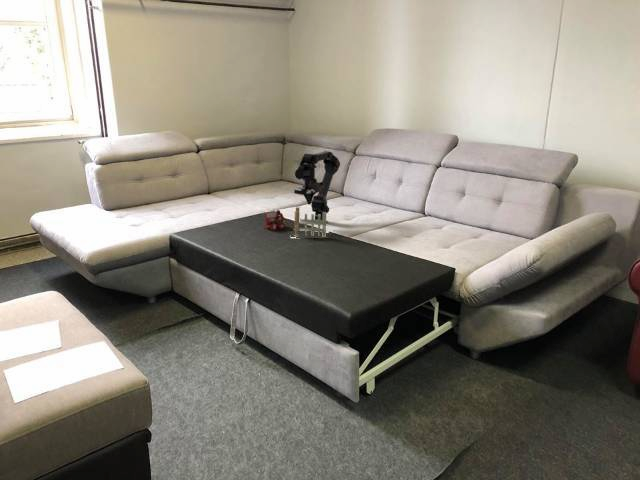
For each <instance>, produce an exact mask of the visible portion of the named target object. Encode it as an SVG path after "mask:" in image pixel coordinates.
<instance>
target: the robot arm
mask: <svg viewBox="0 0 640 480" xmlns="http://www.w3.org/2000/svg"><path fill="white" fill-rule="evenodd" d="M321 161H322V163H323V164H324V170H325V172H324V175H323V179H322V181H320V182H318V180H317V178H316V169H317V167H318V166H317V164H319V162H321ZM299 162H300V163H299V165H298V166H297V169H296V170H295V172H294V176H295V178H296V180H303V181H304V182H303V183H304V185H302V187H296V188H295V189H294V194H296V195H300V196H303V197H304V199H305V201H306V203H307V205H310V206H311V211H312V212H313V213H314V220H318V214H321V219H320V220H322V216H323V212H326V214H328V213H329V212H330V208H329V206H328V199H327V195H328V194H329V193H328V192H329V191H330V190H329V189H330V185H331V183H332V180H333V177H334V175H335V174H336V173H337V172H338V171H339V169H340V166H341V162H340V160H339V158H338V157H337V156H335V154H334V153H333V152H332V151H326V150H323V151H321V152H317V153H306V152H305V153H304V154H303V156H302V158H301V160H300V161H299ZM317 193H318V194H317ZM316 194H317V195H316ZM327 222H329V221H328V220H326V223H327Z"/></svg>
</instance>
